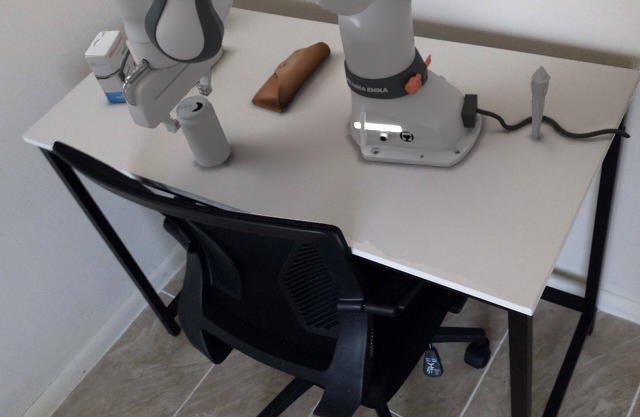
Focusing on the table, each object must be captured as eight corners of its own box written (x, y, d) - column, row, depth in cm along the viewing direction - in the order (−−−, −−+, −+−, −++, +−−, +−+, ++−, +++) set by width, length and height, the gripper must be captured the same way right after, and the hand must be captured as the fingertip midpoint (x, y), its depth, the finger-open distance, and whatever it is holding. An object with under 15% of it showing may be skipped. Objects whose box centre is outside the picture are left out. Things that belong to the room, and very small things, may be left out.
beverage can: (226, 169, 113) (203, 118, 104) (192, 169, 115) (168, 119, 106) (235, 144, 117) (215, 92, 108) (203, 144, 119) (180, 93, 110)
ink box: (130, 102, 132) (105, 54, 124) (108, 103, 133) (82, 56, 125) (143, 75, 138) (120, 28, 129) (122, 77, 139) (98, 30, 130)
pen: (535, 128, 106) (540, 58, 95) (548, 136, 104) (555, 65, 94) (524, 136, 105) (528, 66, 95) (537, 144, 103) (542, 74, 93)
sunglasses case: (296, 47, 133) (304, 25, 127) (324, 66, 132) (334, 46, 127) (248, 103, 124) (255, 82, 118) (279, 123, 124) (287, 104, 118)
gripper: (135, 88, 91) (169, 157, 101) (215, 7, 102) (238, 77, 112) (103, 80, 94) (139, 148, 104) (184, 2, 104) (209, 71, 115)
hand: (191, 111), depth 108 cm, fingers open, 8 cm apart
